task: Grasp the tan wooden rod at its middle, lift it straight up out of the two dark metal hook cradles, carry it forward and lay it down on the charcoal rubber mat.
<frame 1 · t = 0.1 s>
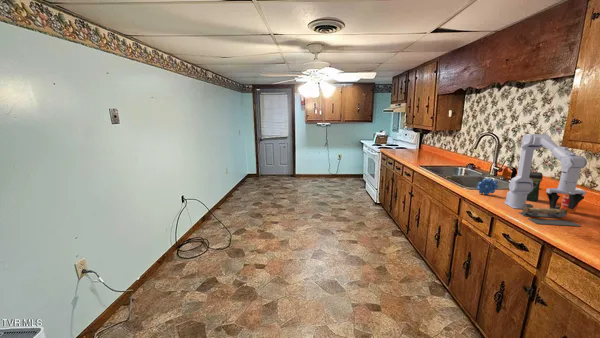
hand: (561, 208, 120), 10 cm above the worktop, fingers open, 7 cm apart
paper cup: (567, 211, 141), on the worktop
grapes: (485, 194, 170), on the worktop
hook standards: (539, 215, 135), on the worktop
tan wooden rod: (544, 213, 132), point 3 cm above the worktop, touching hook standards
mat: (553, 222, 127), on the worktop
coffee jar: (527, 199, 162), on the worktop
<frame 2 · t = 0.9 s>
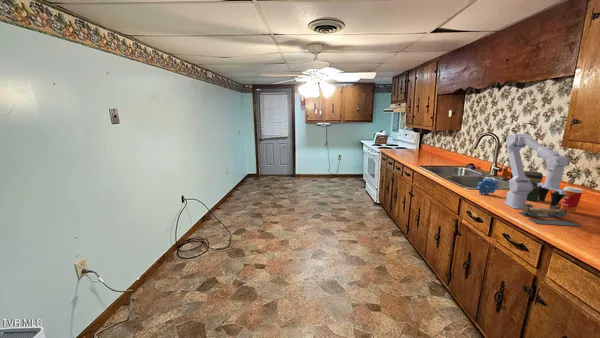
hand: (547, 203, 131), 8 cm above the worktop, fingers open, 7 cm apart
tan wooden rod: (544, 213, 132), point 3 cm above the worktop, tilted 10°, touching hook standards
everything else where it was.
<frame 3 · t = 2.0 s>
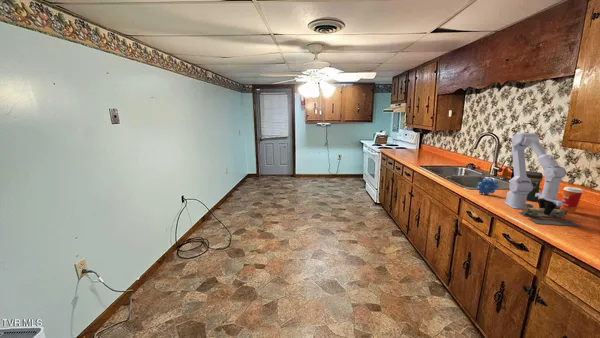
hand: (544, 213, 132), 2 cm above the worktop, fingers closed on tan wooden rod, 2 cm apart
tan wooden rod: (544, 213, 132), point 3 cm above the worktop, touching gripper, hook standards
everything else where it was.
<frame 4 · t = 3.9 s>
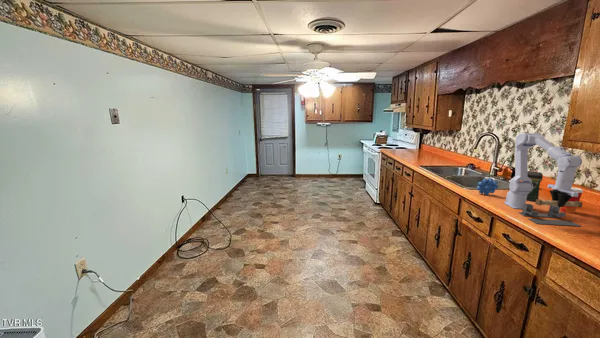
hand: (557, 205, 125), 9 cm above the worktop, fingers closed on tan wooden rod, 2 cm apart
tan wooden rod: (558, 205, 125), point 9 cm above the worktop, tilted 6°, touching gripper
everything else where it was.
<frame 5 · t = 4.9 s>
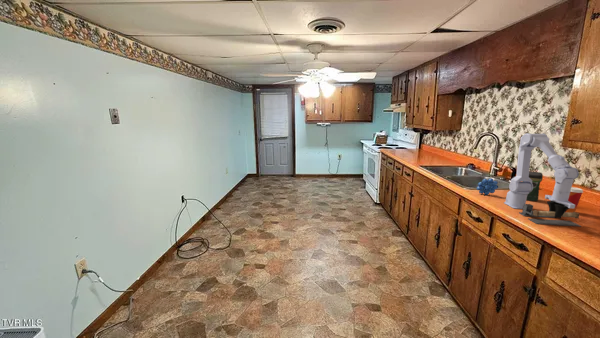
hand: (555, 216, 126), 3 cm above the worktop, fingers closed on tan wooden rod, 2 cm apart
tan wooden rod: (555, 216, 126), point 3 cm above the worktop, tilted 6°, touching gripper
everything else where it was.
when the fingers open (2 cm above the worktop, at t = 5.5 s): tan wooden rod drops 1 cm, resting on mat.
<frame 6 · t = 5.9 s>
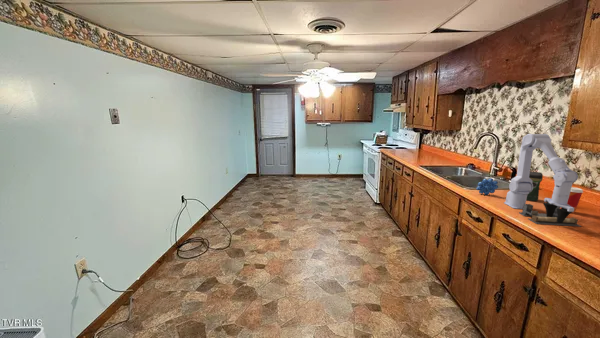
hand: (554, 219, 126), 2 cm above the worktop, fingers open, 6 cm apart
tan wooden rod: (553, 222, 127), resting on mat
everything else where it was.
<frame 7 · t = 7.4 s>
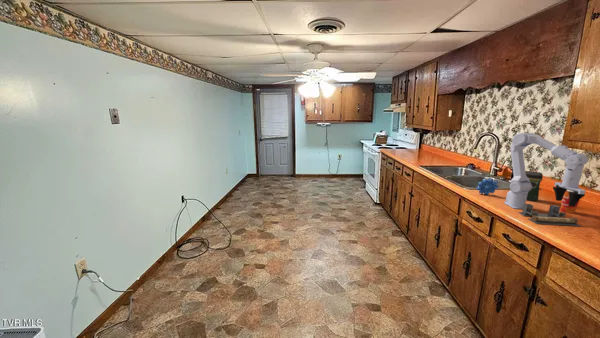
hand: (564, 203, 127), 10 cm above the worktop, fingers open, 7 cm apart
nothing on the worktop moved.
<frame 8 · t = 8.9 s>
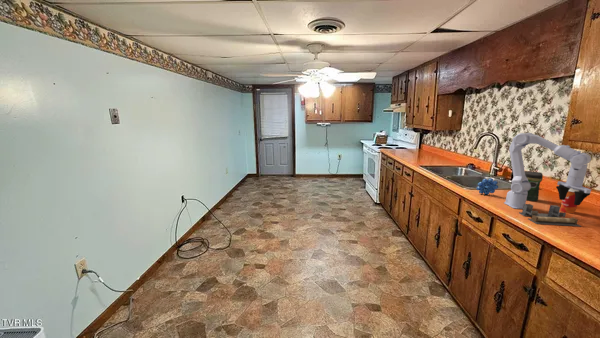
hand: (569, 202, 128), 10 cm above the worktop, fingers open, 7 cm apart
nothing on the worktop moved.
at the end: tan wooden rod inside the target area (0.1 cm from its centre), resting on mat; the gripper is holding nothing; tan wooden rod moved 6.7 cm from its start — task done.
